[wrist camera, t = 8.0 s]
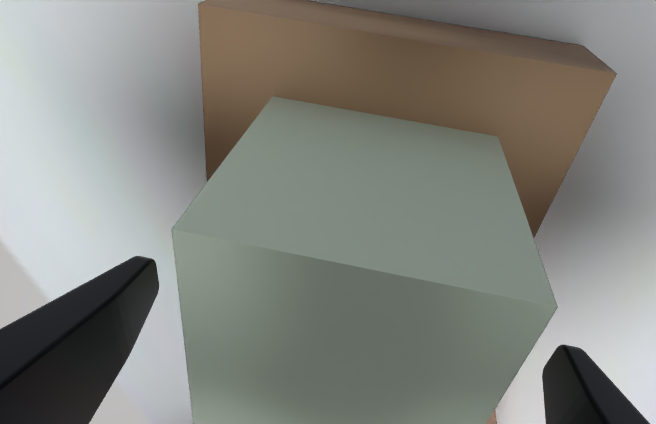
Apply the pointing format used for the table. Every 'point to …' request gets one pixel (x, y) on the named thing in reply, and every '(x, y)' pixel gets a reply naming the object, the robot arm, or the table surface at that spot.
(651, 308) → the table surface
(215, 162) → the walnut block
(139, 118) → the table surface
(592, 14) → the table surface
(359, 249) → the sage cube
